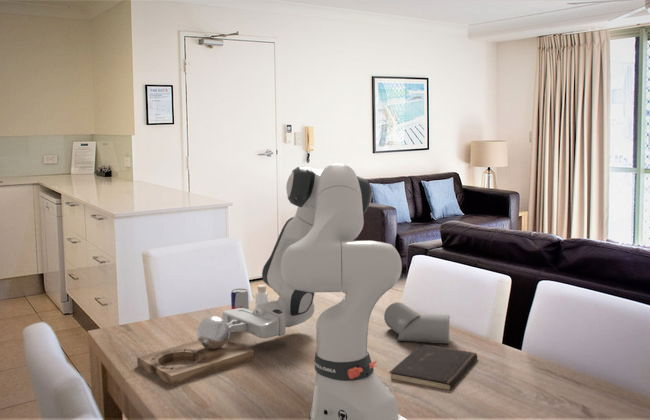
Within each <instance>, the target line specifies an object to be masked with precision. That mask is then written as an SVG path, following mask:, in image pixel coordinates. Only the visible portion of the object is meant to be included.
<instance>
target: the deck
mask: <svg viewBox="0 0 650 420" xmlns="http://www.w3.org/2000/svg"><path fill="white" fill-rule="evenodd" d="M136 359H137V360H136V361H137V362H136V363H137V367H138V368H140V369H142V370H144V371H145V372H147V373H149V374H151V375H152V376H154V377H156V378H158V379H160V380H162V381H163V382H165V383H167V384H169V385H170V386H175V385H176V386H177V385H178V384H181V383H185V382H188V381H190V380H193V379H197V378H200V377H203V376H205V375H209V374H213V373H215V372H219V371H222V370H224V369H229V368H231V367H234V366H237V365H240V364H243V363H247V362H250V361H252V360H254V350H252V349H250V348H247V347H246V346H242V345H240V344H238V343H236V342H233V341H231V340H229V339H228V341H227V342H226V344H225V345H223V346H222V347H220V348H218V349H208V348H205V347H204V346H202V345H201V344H200V342H199V341H198V339H197V340H193V341H190V342H187V343H184V344H180V345H176V346H172V347H169V348H165V349H161V350H158V351H155V352H151V353H146V354H144V355H139V356H137V357H136ZM180 361H181V362H182V361H183V362H184V361H187V362H192V363H189V364H186V365H178V366H177V365H176V366H172V365H171V366H169V365H165V364H170V363H173V362H180Z"/></svg>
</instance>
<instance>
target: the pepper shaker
mask: <svg viewBox="0 0 650 420" xmlns="http://www.w3.org/2000/svg"><path fill="white" fill-rule="evenodd" d="M266 288H267V284H258V285H257V293H256V294H255V307H256V306H257V305H259V304H262V303H266V302H270V301H269V294H268V292H267V289H266ZM255 307H254V308H255Z"/></svg>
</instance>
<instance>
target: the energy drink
mask: <svg viewBox="0 0 650 420" xmlns="http://www.w3.org/2000/svg"><path fill="white" fill-rule="evenodd" d="M230 301H231V302H230V303H231V304H230V305H231V309H237V308H246V309H249V310H250V305H249V292H248V289H246V288H235V289H231V293H230Z"/></svg>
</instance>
